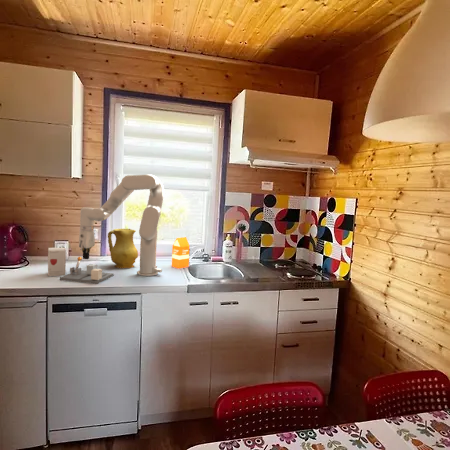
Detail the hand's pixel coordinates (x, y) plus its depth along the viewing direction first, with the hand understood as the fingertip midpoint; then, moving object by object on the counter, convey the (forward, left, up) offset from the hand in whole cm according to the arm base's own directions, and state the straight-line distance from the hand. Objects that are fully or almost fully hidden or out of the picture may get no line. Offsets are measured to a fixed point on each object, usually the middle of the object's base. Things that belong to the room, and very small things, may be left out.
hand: (85, 258), depth 205 cm
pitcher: (-13, -23, -8) cm, 28 cm away
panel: (-8, +11, -8) cm, 16 cm away
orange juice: (-48, -36, -8) cm, 61 cm away
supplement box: (+12, +10, -8) cm, 18 cm away
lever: (0, +11, -5) cm, 12 cm away
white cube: (-8, +8, -6) cm, 13 cm away
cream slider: (-16, +17, -6) cm, 24 cm away
